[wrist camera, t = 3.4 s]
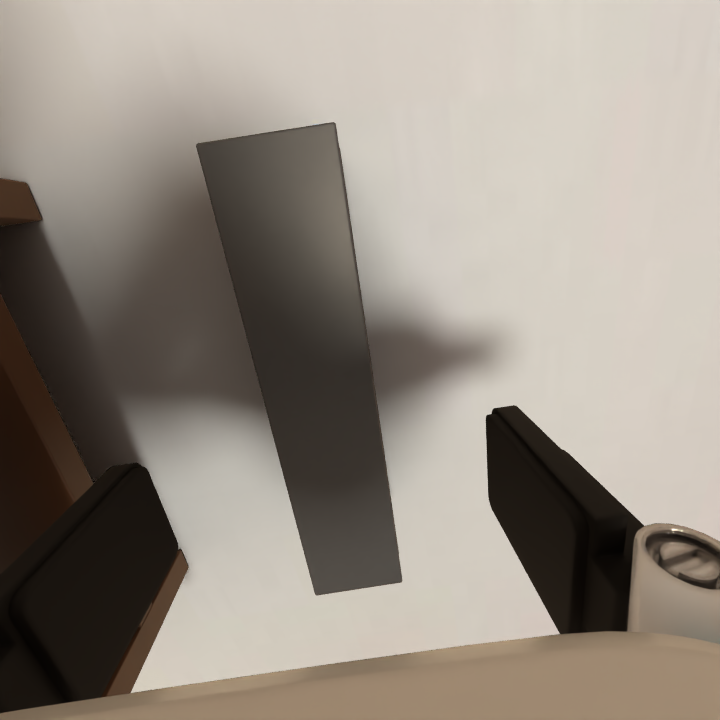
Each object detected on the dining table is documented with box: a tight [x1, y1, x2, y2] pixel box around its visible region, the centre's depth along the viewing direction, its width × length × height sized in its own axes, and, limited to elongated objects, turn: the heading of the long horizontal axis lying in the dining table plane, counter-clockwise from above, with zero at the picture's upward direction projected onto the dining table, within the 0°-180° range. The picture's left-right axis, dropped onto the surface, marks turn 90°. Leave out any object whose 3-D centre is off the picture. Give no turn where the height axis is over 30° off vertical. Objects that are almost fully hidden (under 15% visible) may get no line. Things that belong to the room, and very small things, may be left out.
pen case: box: [196, 122, 402, 595], centre depth 15 cm, size 4×18×6 cm, turn 8°
